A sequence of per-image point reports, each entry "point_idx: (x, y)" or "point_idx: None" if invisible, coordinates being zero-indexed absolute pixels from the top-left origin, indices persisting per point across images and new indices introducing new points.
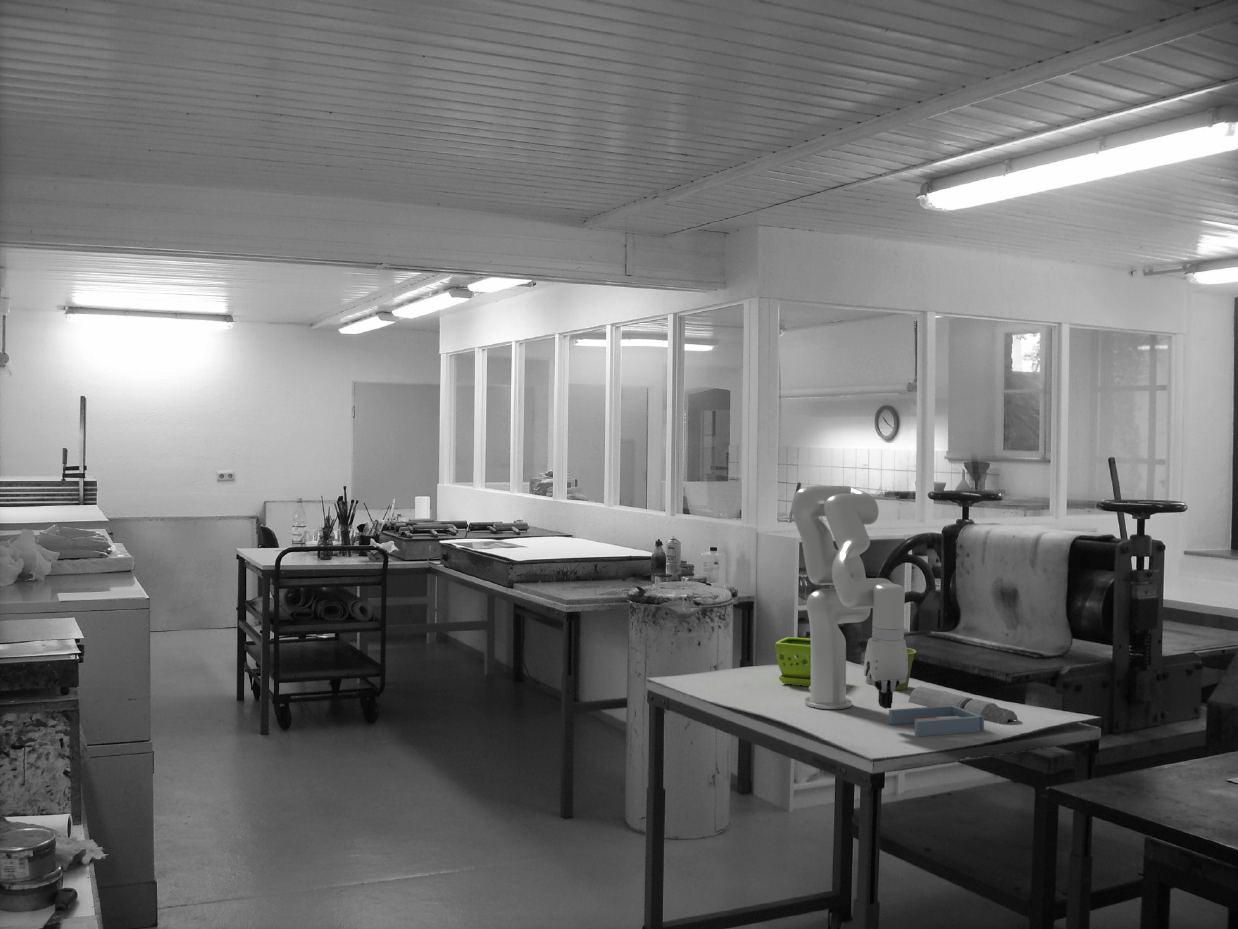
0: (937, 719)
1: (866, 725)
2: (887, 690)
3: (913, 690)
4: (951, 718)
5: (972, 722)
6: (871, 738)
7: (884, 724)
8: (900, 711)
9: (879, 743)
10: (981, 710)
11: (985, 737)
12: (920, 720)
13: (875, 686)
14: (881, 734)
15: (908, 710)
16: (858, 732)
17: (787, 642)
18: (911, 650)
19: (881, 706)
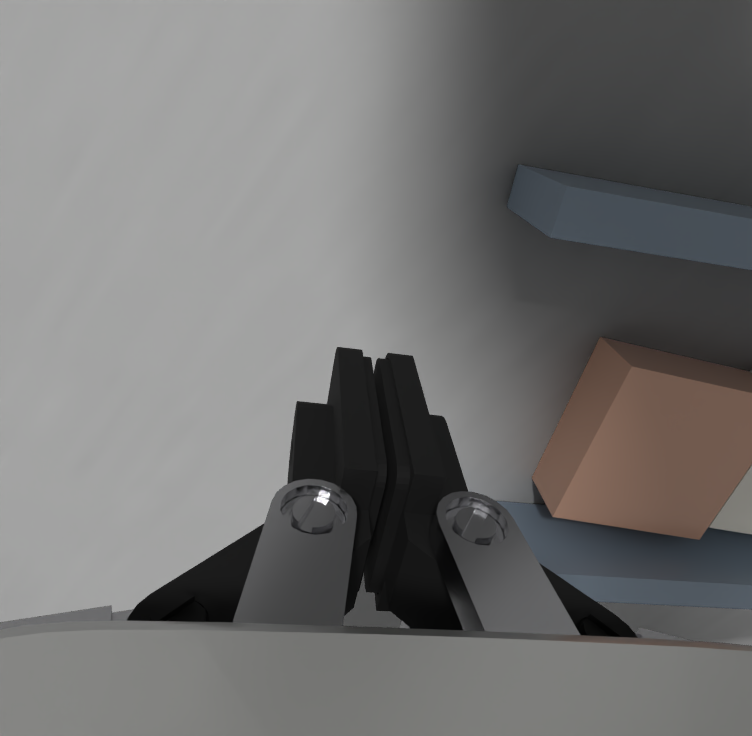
0: (616, 584)
1: (297, 115)
2: (392, 574)
3: None
4: (716, 591)
5: None
6: (107, 455)
7: (470, 161)
8: (642, 249)
9: (98, 553)
10: None
11: (716, 624)
12: (618, 426)
13: (198, 582)
14: (239, 401)
15: (725, 265)
16: (92, 289)
17: None
18: None
19: (330, 388)
